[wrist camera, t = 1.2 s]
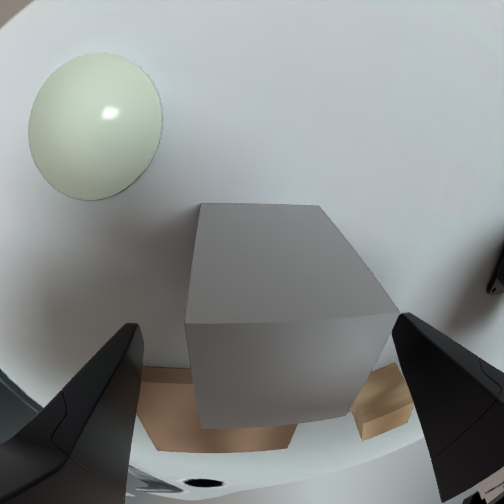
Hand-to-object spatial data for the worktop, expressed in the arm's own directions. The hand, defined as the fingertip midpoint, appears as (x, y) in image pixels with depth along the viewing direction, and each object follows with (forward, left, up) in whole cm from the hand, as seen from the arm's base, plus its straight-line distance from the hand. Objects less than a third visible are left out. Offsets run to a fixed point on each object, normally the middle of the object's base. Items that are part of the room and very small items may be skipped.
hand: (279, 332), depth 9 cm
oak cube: (-10, +12, -5) cm, 16 cm away
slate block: (0, 0, -5) cm, 5 cm away
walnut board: (+2, +14, -5) cm, 15 cm away
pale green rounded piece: (+7, -6, -5) cm, 11 cm away
